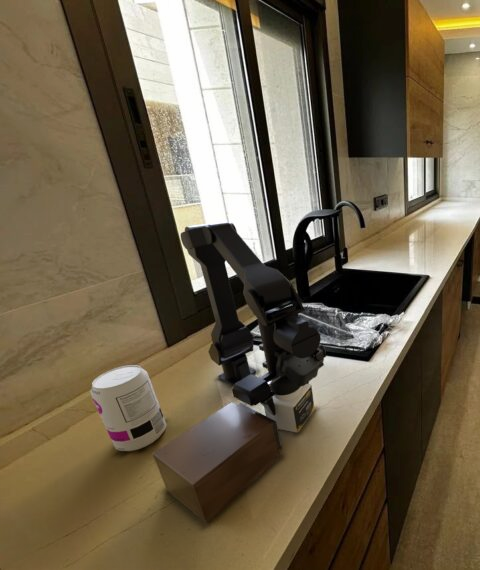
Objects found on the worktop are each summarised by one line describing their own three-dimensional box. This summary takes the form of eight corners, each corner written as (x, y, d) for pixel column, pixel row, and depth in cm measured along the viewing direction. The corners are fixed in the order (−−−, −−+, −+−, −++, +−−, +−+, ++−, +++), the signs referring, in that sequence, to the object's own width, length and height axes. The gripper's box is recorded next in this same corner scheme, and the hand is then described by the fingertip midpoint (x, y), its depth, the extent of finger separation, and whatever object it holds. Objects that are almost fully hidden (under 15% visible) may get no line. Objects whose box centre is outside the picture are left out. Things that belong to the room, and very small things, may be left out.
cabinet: (240, 435, 67) (232, 401, 64) (279, 458, 62) (272, 423, 59) (166, 490, 56) (152, 453, 53) (206, 523, 51) (192, 484, 48)
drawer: (252, 424, 69) (246, 399, 66) (286, 444, 64) (281, 417, 62) (181, 477, 57) (171, 448, 55) (217, 505, 53) (207, 474, 50)
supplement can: (109, 460, 61) (79, 396, 56) (122, 429, 68) (97, 370, 63) (162, 444, 65) (139, 382, 59) (170, 416, 72) (149, 359, 66)
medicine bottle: (298, 433, 68) (290, 386, 63) (267, 427, 69) (257, 381, 65) (315, 409, 74) (309, 365, 70) (287, 404, 75) (279, 360, 71)
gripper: (264, 377, 53) (278, 449, 59) (341, 328, 68) (347, 388, 74) (222, 358, 58) (239, 426, 63) (303, 316, 73) (311, 374, 79)
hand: (289, 402), depth 70 cm, fingers closed on medicine bottle, 8 cm apart
